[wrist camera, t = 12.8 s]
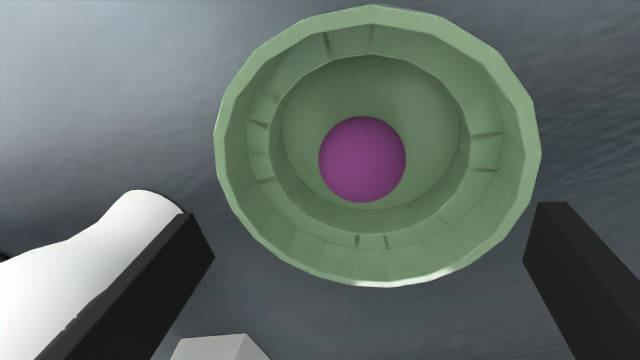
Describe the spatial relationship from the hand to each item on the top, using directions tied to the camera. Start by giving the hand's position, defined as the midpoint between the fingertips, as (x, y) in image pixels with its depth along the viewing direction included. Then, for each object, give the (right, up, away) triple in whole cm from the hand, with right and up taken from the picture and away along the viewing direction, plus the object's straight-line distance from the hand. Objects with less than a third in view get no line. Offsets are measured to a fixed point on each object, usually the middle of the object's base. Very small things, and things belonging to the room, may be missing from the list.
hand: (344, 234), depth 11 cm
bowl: (+2, +5, +8) cm, 9 cm away
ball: (+2, +5, +7) cm, 9 cm away
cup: (-17, -2, +17) cm, 24 cm away
